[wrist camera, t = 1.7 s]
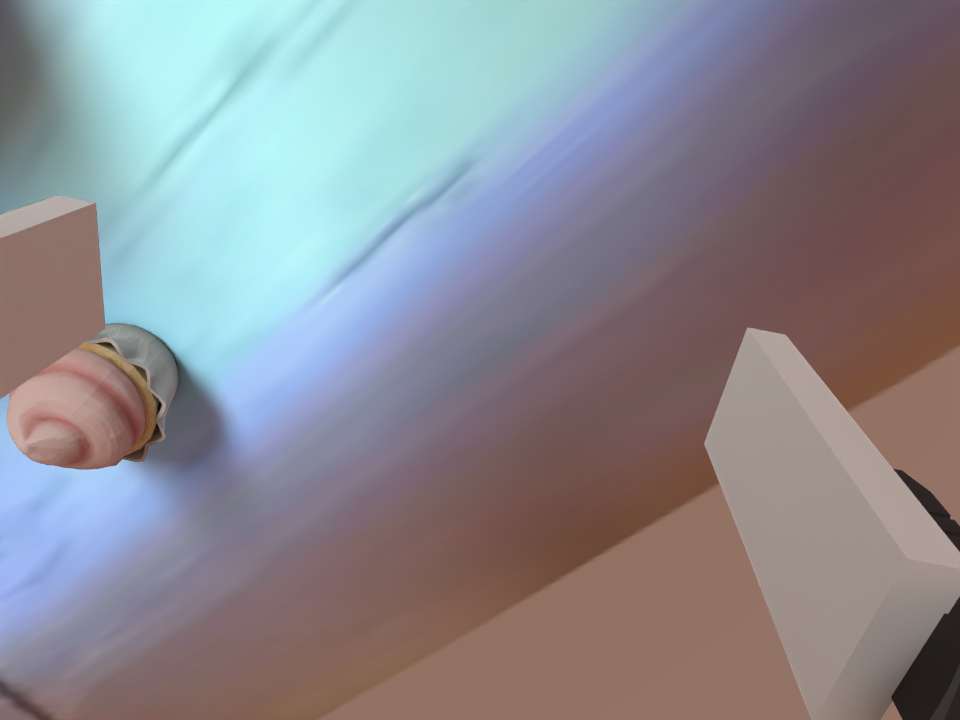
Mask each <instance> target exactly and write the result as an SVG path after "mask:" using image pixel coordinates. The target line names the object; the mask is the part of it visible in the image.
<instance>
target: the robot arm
mask: <svg viewBox="0 0 960 720" xmlns="http://www.w3.org/2000/svg"><path fill="white" fill-rule="evenodd" d="M104 329H105V317H104V304H103V291H102V278H101V265H100V252H99V239H98V225H97V212H96V203H95V202H90V201H84V200H79V199H74V198H69V197H64V196H55V197H52V198H48V199H45V200H42V201H39V202H36V203H33V204H30V205H27V206H24V207H21V208H18V209H15V210H12V211H9V212H6V213H3V214H0V399H1V398H2V397H4V396H5V395H7V394H8V393H10V392H11V391H13V390H14V389H16V388H17V387H19V386H20V385H22V384H23V383H25V382H26V381H28V380H29V379H31V378H32V377H34V376H35V375H37V374H38V373H40V372H41V371H43V370H44V369H46V368H47V367H49V366H50V365H52V364H53V363H55V362H56V361H58V360H59V359H61V358H62V357H64V356H65V355H67V354H68V353H70V352H71V351H73V350H74V349H76V348H77V347H79V346H80V345H82V344H83V343H85V342H86V341H88V340H89V339H91V338H92V337H93V336H95V335H96V334H98V333H99V332H101V331H102V330H104ZM704 445H705V447H706V450H707V452H708V455H709V457H710V460H711V463H712V465H713V468H714V470H715V473H716V476H717V478H718V481H719V483H720V486H721V488H722V491H723V494H724V496H725V498H726V501H727V504H728V506H729V509H730V512H731V514H732V516H733V519H734V522H735V524H736V527H737V530H738V532H739V535H740V537H741V540H742V542H743V545H744V548H745V550H746V553H747V555H748V558H749V560H750V563H751V566H752V568H753V570H754V573H755V576H756V578H757V581H758V583H759V586H760V589H761V591H762V594H763V596H764V599H765V602H766V604H767V607H768V609H769V612H770V614H771V617H772V619H773V622H774V625H775V627H776V630H777V632H778V635H779V637H780V640H781V643H782V645H783V648H784V650H785V653H786V656H787V658H788V661H789V663H790V666H791V668H792V671H793V674H794V676H795V679H796V681H797V684H798V687H799V689H800V692H801V694H802V697H803V699H804V702H805V705H806V707H807V709H808V712H809V715H810V717H811V720H880V719H881V718H882V716H883V714H884V713H885V711H886V710H887V708H888V707H889V705H890V704H891V702H892V701H893V702H894V704H895V706H896V708H897V709H898V711H899V714H900V715H901V717H902V719H903V720H960V526H959V525H958V524H957V523H956V521H955V520H951V519H950V514H949V513H948V512H947V511H946V510H945V509H944V507H943V506H942V505H941V504H940V503H939V501H938V500H937V499H936V498H935V496H934V495H933V494H932V493H931V492H930V491H928V490H927V489H926V488H924V487H923V486H922V485H920V484H919V483H918V482H916V481H915V480H914V479H912V478H911V477H910V476H908V475H907V474H906V473H904V472H903V471H902V470H897V469H893V468H892V467H891V466H890V465H889V463H888V462H887V461H886V460H885V458H884V457H883V456H882V454H880V452H879V451H878V450H877V448H876V447H875V446H874V444H873V443H872V442H871V441H870V440H869V438H868V437H867V436H866V435H865V433H864V432H863V431H862V430H861V428H860V427H859V426H858V425H857V423H856V422H855V421H854V420H853V418H852V417H851V416H850V415H849V413H848V412H847V411H846V410H845V408H844V407H843V406H842V405H841V403H840V402H839V401H838V400H837V398H836V397H835V396H834V395H833V393H832V392H831V391H830V390H829V388H828V387H827V386H826V385H825V383H824V382H823V381H822V380H821V378H820V377H819V376H818V375H817V373H816V372H815V371H814V370H813V368H812V367H811V366H810V365H809V363H808V362H807V361H806V360H805V358H804V357H803V356H802V355H801V353H800V352H799V351H798V350H797V348H796V347H795V346H794V345H793V343H792V342H791V341H790V340H789V338H788V337H787V336H786V335H784V334H779V333H774V332H769V331H763V330H758V329H753V328H748V327H747V330H746V333H745V335H744V338H743V341H742V343H741V346H740V349H739V351H738V354H737V357H736V359H735V362H734V365H733V367H732V370H731V373H730V375H729V378H728V381H727V384H726V386H725V389H724V392H723V394H722V397H721V400H720V402H719V405H718V408H717V410H716V413H715V416H714V418H713V421H712V424H711V426H710V429H709V432H708V434H707V437H706V440H705V443H704Z"/></svg>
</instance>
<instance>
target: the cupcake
mask: <svg viewBox="0 0 960 720" xmlns="http://www.w3.org/2000/svg"><path fill="white" fill-rule="evenodd" d="M178 383H179V379H178V370H177V366H176V362H175V360H174V357H173V356H172V354H171V352H170V351H169V350H168V348H167V347H166V346H165V345H164V344H163V342H161V341H160V340H159V339H158V338H157V337H156V336H154V335H153V334H151V333H150V332H148V331H146V330H144V329H142V328H140V327H137V326H135V325H129V324H122V323H111V324H105V329H104V330H102V331H101V332H99V333H98V334H96V335H95V336H93V337H92V338H91V339H89V340H88V341H86V342H85V343H83V344H82V345H80V346H79V347H77V348H76V349H74V350H73V351H71V352H70V353H68V354H67V355H65V356H64V357H62V358H61V359H59V360H58V361H56V362H55V363H53V364H52V365H50V366H49V367H47V368H46V369H44V370H43V371H41V372H40V373H38V374H37V375H35V376H34V377H32V378H31V379H29V380H28V381H26V382H25V383H23V384H22V385H20V386H19V387H17V388H16V389H14V390H13V391H11V392H10V397H9V405H8V410H7V423H8V429H9V433H10V435H11V438H12V440H13V441H14V443H15V444H16V446H17V447H18V449H19V450H20V451H22V452H23V454H25V455H26V456H27V457H28V458H29V459H31V460H33V461H35V462H38V463H41V464H45V465H55V466H59V467H63V468H73V469H99V468H104V467H109V466H115V465H117V464H118V463H119V462H120V461H121V460H122V459H125V460H130V461H134V462H140V461H144V459H145V457H146V455H147V451H148V447H149V445H152V444H155V443H159V442H162V441H163V440H165V419H166V415H167V412H168V410H169V407H170V404H171V402H172V400H173V398H174V396H175V394H176V391H177V387H178Z"/></svg>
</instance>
